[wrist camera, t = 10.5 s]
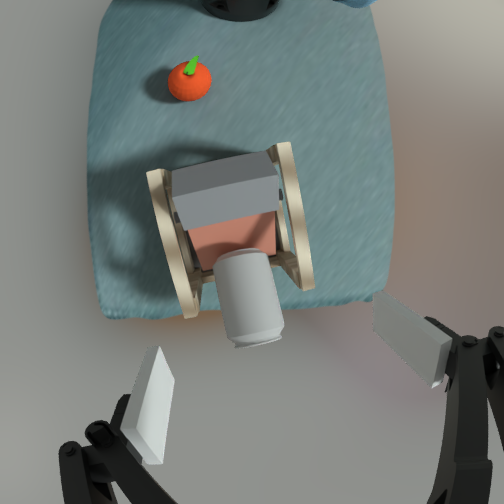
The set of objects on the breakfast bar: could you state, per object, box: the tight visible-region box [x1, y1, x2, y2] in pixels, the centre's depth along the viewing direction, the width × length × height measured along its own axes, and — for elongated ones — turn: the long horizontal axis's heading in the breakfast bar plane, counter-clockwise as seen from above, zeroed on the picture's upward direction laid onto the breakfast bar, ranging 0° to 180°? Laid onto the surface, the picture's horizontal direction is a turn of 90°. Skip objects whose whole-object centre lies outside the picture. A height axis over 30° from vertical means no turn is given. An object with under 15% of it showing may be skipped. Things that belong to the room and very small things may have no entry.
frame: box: [146, 142, 315, 319], centre depth 39 cm, size 18×17×15 cm
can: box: [212, 248, 284, 348], centre depth 36 cm, size 8×8×12 cm
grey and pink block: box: [172, 151, 283, 271], centre depth 35 cm, size 16×13×5 cm
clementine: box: [168, 56, 211, 101], centre depth 37 cm, size 8×7×7 cm
